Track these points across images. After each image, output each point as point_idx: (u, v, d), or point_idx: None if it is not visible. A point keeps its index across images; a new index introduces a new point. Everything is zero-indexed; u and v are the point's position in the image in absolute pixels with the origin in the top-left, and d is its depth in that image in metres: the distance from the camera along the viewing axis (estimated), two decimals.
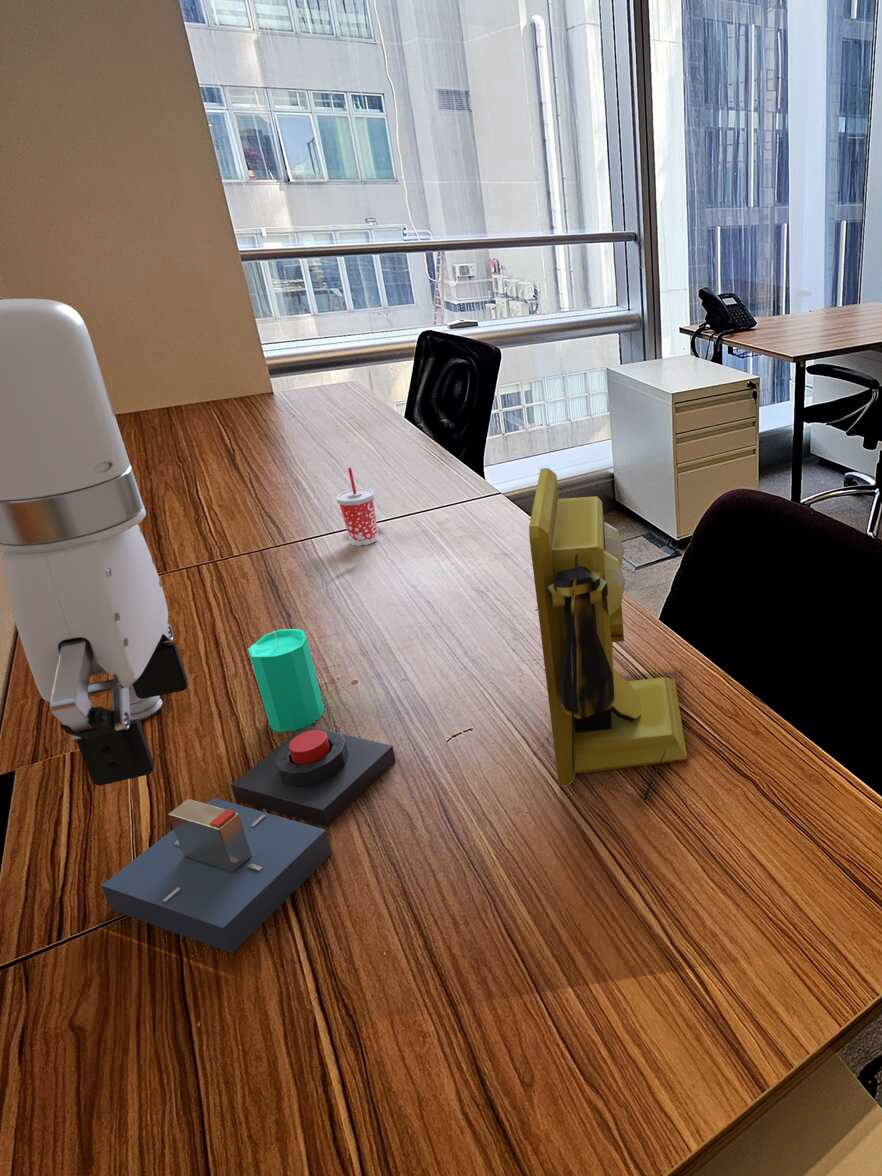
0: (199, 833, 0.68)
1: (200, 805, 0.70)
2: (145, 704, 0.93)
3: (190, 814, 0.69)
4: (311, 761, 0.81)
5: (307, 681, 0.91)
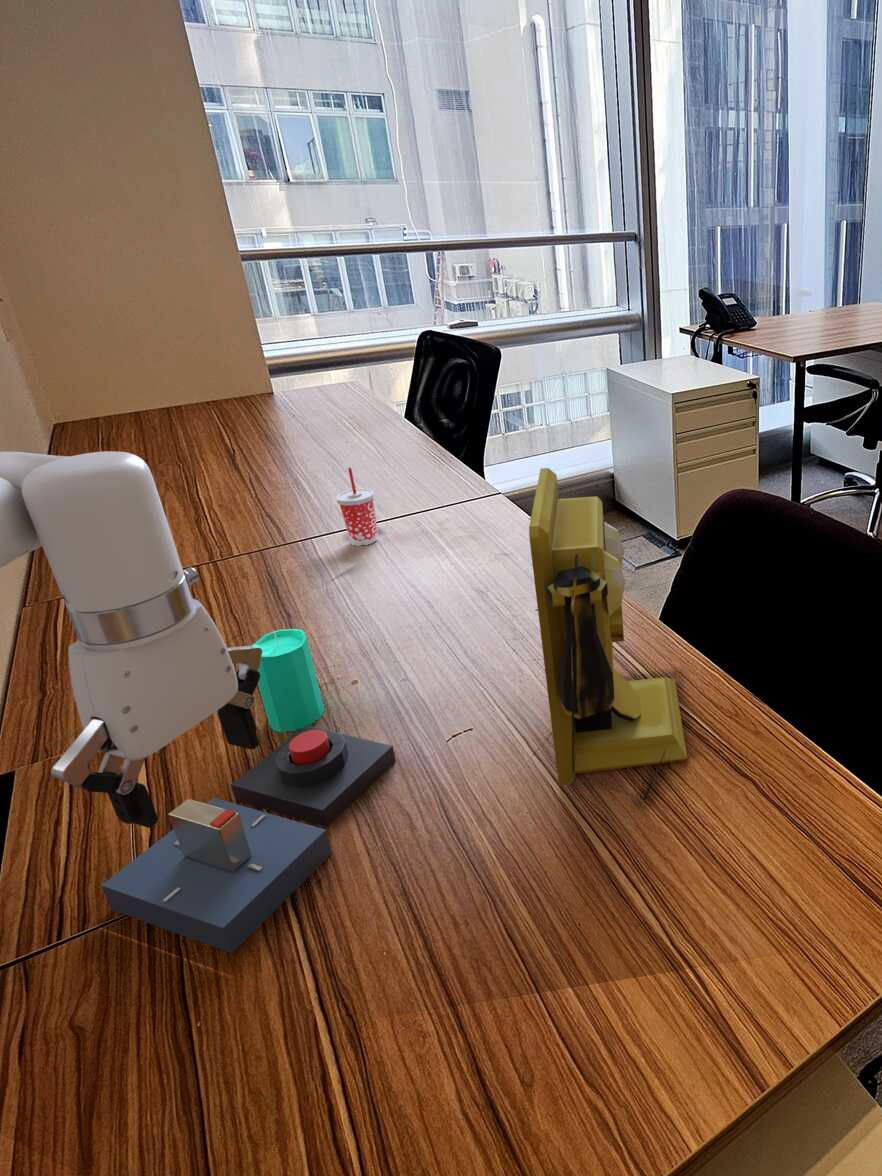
0: (199, 833, 0.68)
1: (200, 805, 0.70)
2: None
3: (190, 814, 0.69)
4: (311, 761, 0.81)
5: (307, 681, 0.91)
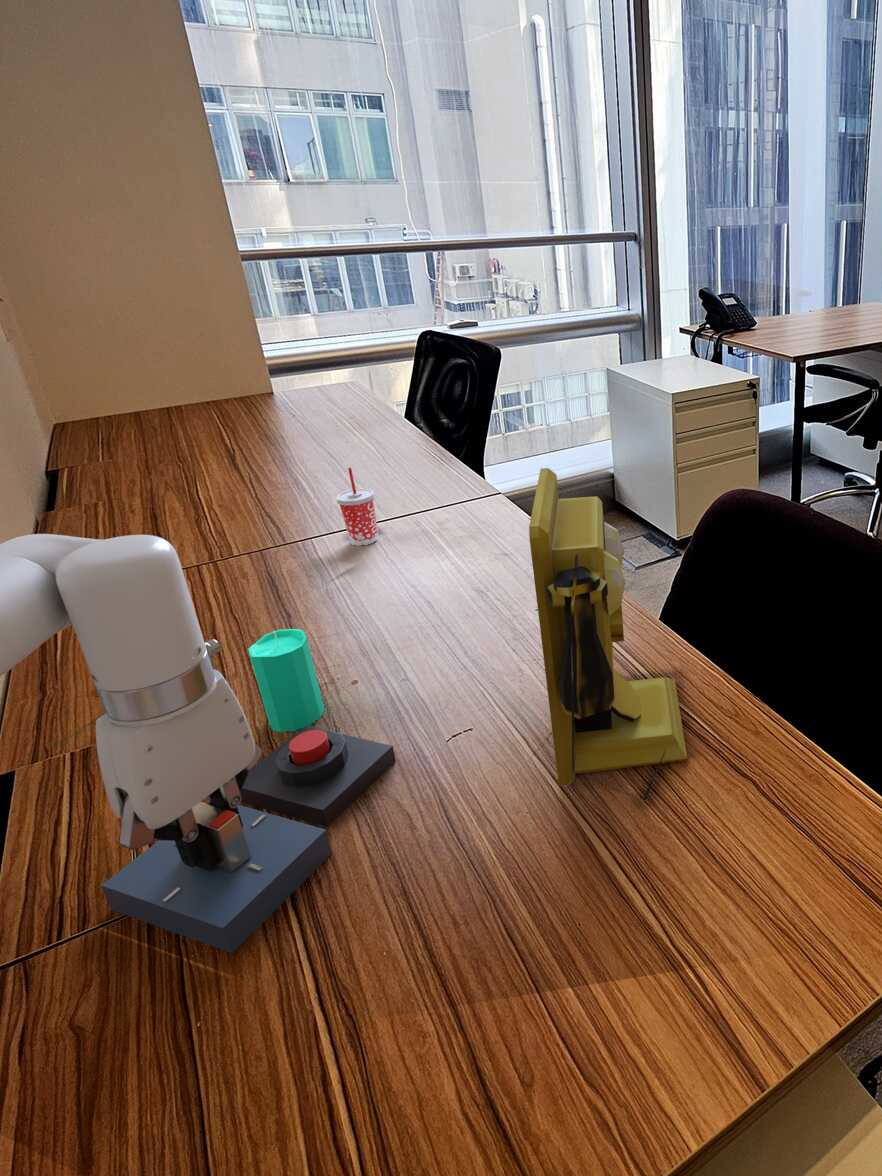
0: None
1: (201, 805, 0.70)
2: None
3: None
4: (311, 761, 0.81)
5: (307, 681, 0.91)
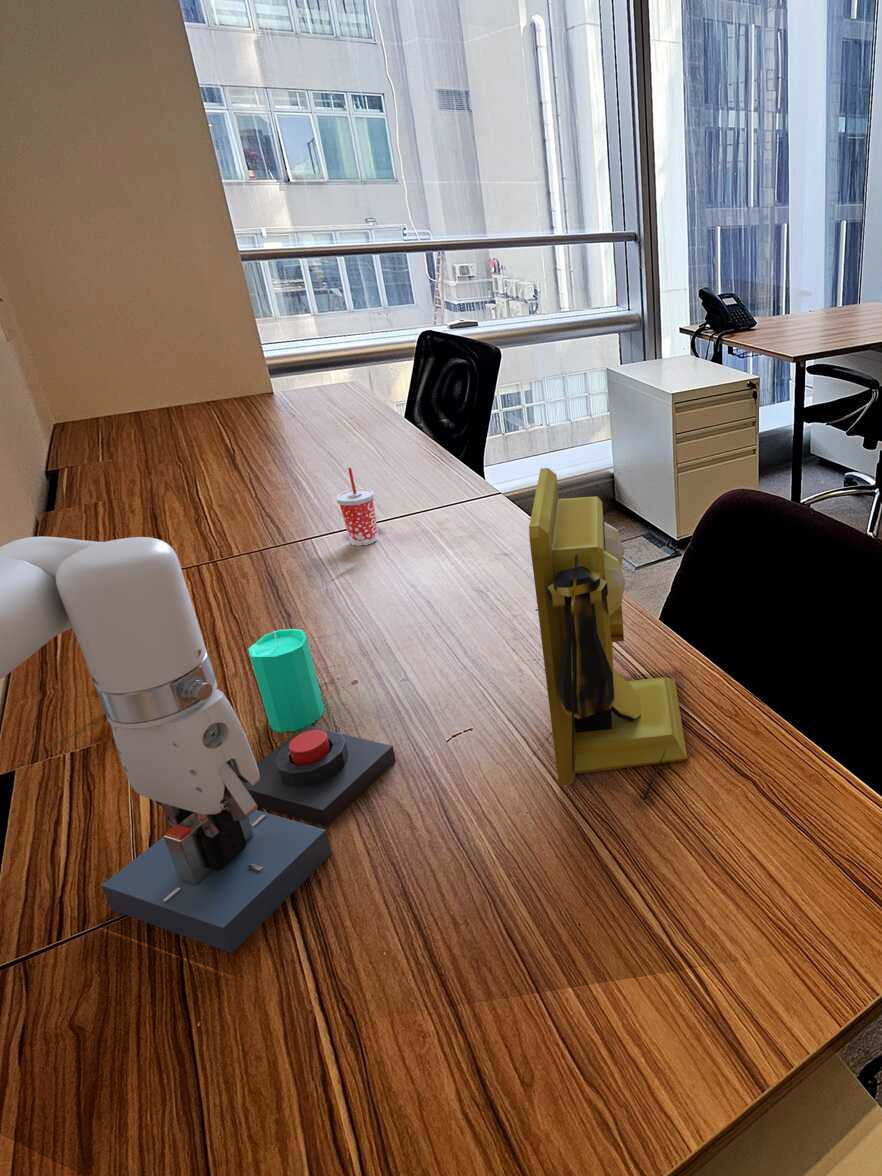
0: None
1: None
2: None
3: None
4: (311, 761, 0.81)
5: (307, 681, 0.91)
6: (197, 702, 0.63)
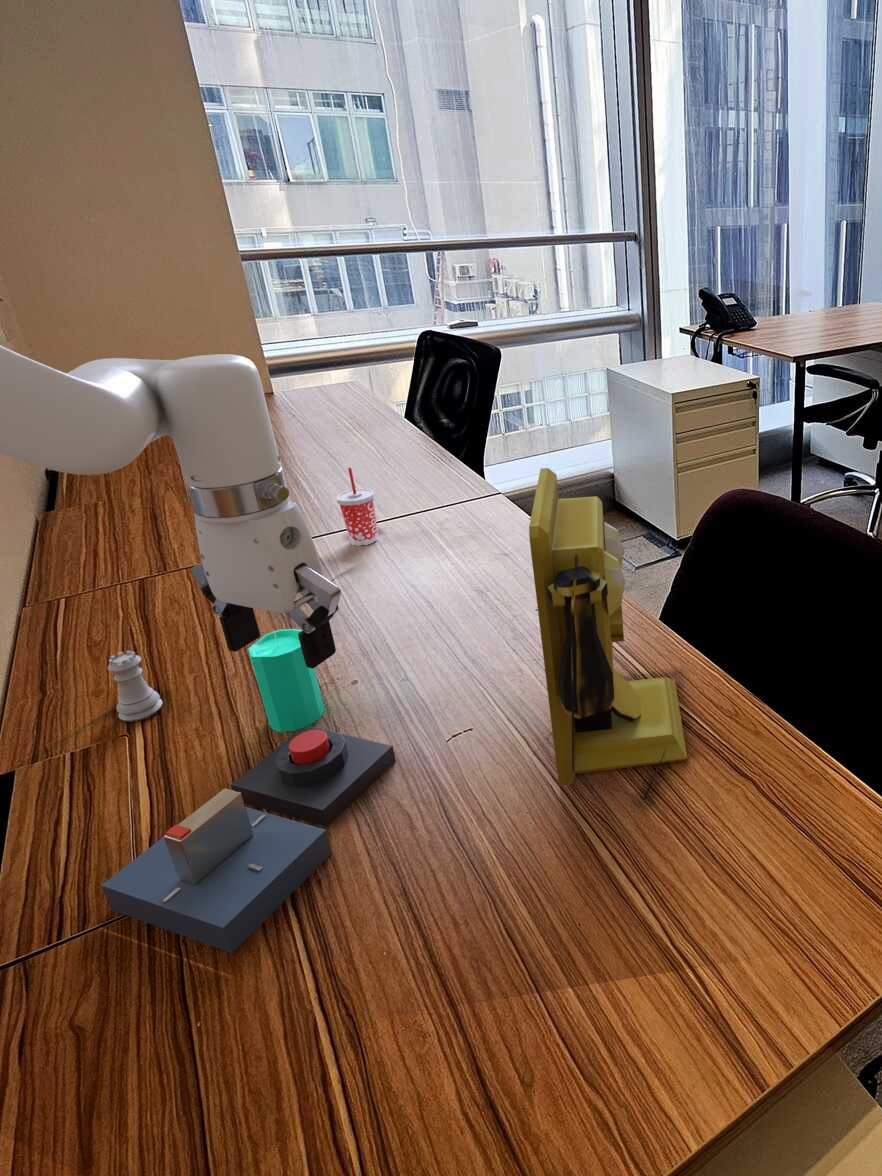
0: None
1: (220, 806, 0.69)
2: (145, 704, 0.93)
3: (210, 804, 0.70)
4: (311, 761, 0.81)
5: (307, 681, 0.91)
6: (275, 506, 0.70)
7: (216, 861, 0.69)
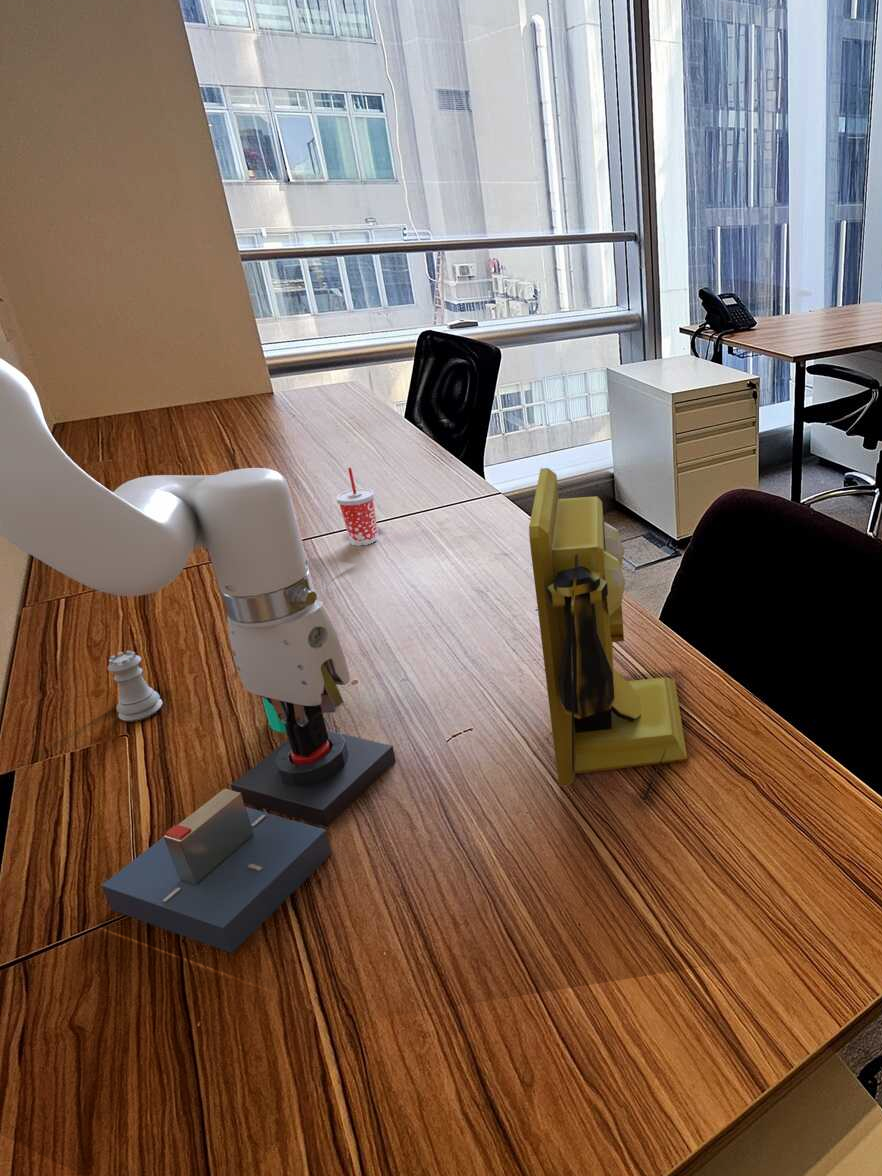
0: None
1: (220, 806, 0.69)
2: (145, 704, 0.93)
3: (210, 804, 0.70)
4: None
5: None
6: (303, 608, 0.75)
7: (216, 861, 0.69)
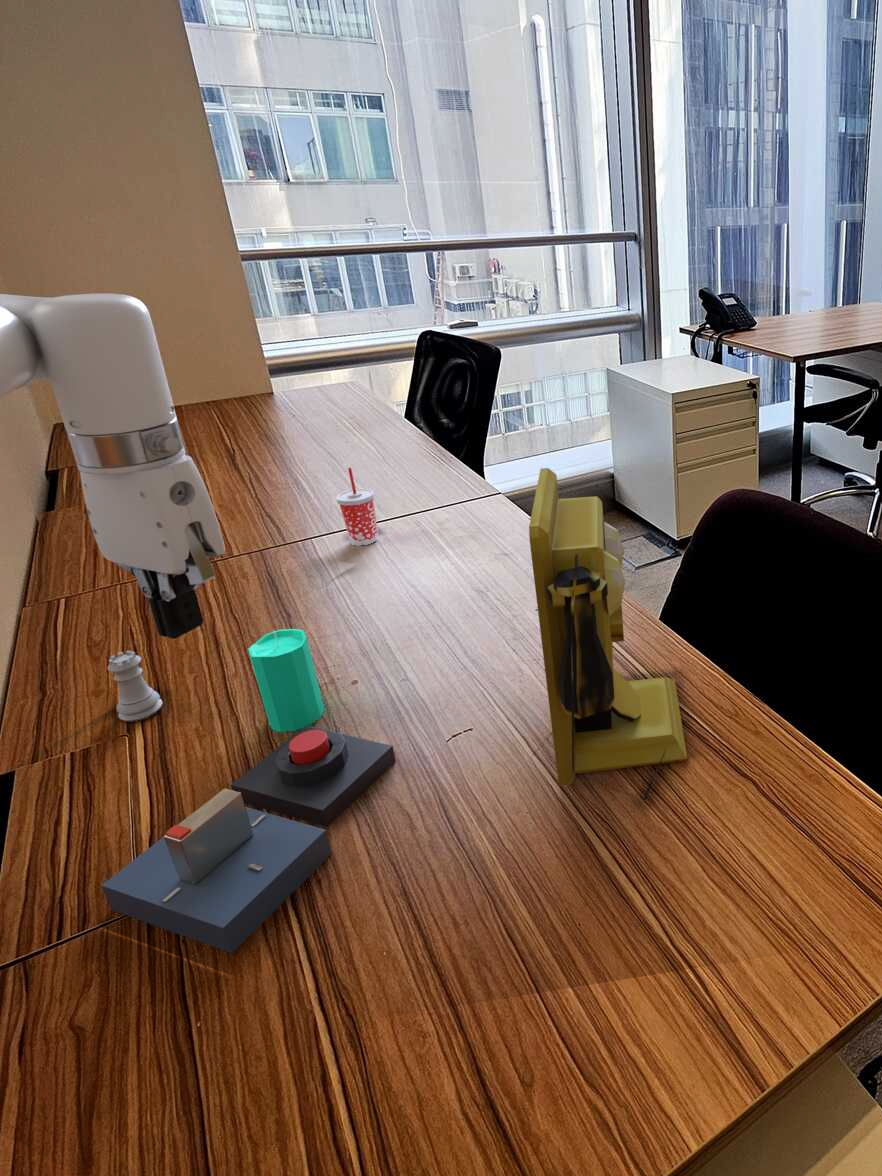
0: None
1: (220, 806, 0.69)
2: (145, 704, 0.93)
3: (210, 804, 0.70)
4: (311, 761, 0.81)
5: (307, 681, 0.91)
6: (165, 459, 0.66)
7: (216, 861, 0.69)
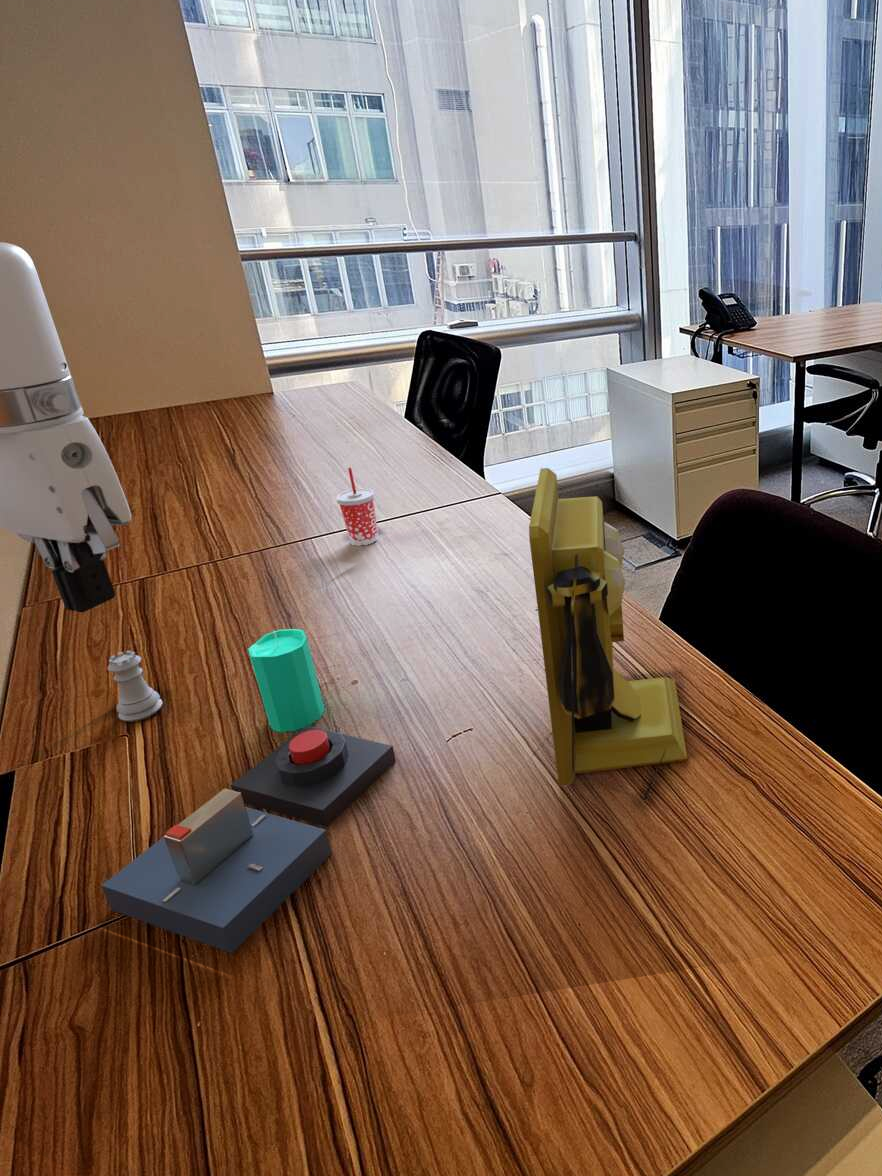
0: None
1: (220, 806, 0.69)
2: (145, 704, 0.93)
3: (210, 804, 0.70)
4: (311, 761, 0.81)
5: (307, 681, 0.91)
6: (57, 418, 0.62)
7: (216, 861, 0.69)
